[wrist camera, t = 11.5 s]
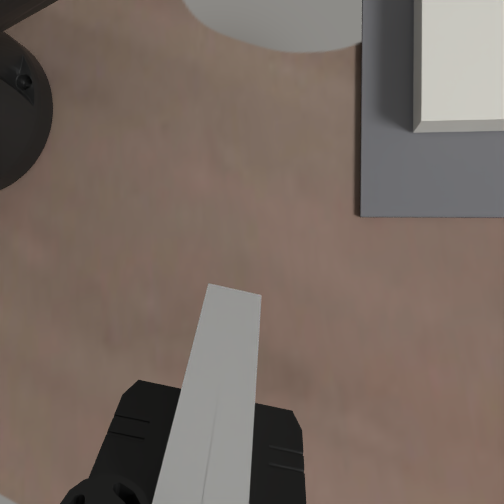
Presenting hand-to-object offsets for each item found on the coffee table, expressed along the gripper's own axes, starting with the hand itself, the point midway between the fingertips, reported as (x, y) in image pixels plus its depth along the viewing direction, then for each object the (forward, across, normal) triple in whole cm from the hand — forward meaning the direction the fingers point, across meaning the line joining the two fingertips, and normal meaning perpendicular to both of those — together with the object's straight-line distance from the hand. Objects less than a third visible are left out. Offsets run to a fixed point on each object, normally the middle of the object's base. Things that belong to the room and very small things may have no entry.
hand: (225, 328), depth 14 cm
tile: (+26, +17, +4) cm, 31 cm away
